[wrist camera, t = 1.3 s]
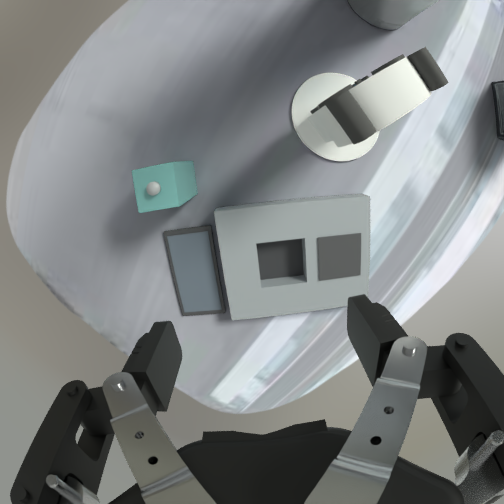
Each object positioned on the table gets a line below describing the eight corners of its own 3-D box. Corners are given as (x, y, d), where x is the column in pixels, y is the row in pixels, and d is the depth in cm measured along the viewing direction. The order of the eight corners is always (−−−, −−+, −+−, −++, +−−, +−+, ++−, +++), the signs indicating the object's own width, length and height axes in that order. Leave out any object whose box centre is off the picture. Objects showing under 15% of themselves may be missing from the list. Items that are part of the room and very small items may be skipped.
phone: (184, 312, 38) (182, 316, 37) (165, 230, 34) (163, 232, 33) (225, 308, 38) (225, 313, 37) (211, 224, 34) (210, 226, 33)
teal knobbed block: (161, 166, 31) (128, 171, 22) (193, 160, 31) (170, 162, 22) (166, 198, 32) (136, 214, 23) (197, 193, 32) (177, 207, 23)
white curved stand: (346, 57, 26) (402, 7, 12) (397, 129, 29) (476, 122, 15) (271, 103, 29) (289, 60, 15) (329, 179, 32) (386, 196, 18)
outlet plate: (216, 207, 33) (213, 212, 30) (361, 193, 32) (370, 196, 30) (232, 310, 37) (231, 321, 35) (360, 294, 37) (367, 303, 34)
